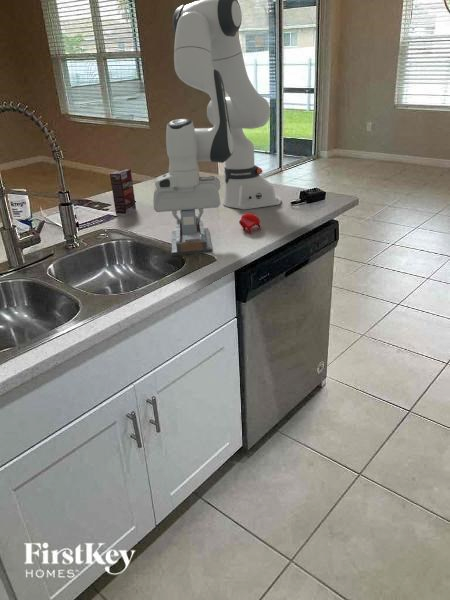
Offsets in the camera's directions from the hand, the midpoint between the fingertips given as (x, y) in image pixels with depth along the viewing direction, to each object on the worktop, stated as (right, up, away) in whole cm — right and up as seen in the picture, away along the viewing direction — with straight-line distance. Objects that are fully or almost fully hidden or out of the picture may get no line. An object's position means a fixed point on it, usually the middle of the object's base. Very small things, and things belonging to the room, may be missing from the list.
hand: (188, 223), depth 146 cm
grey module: (0, -2, +1) cm, 3 cm away
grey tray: (+1, -6, +3) cm, 6 cm away
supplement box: (-27, +10, +37) cm, 47 cm away
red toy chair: (+20, -1, +10) cm, 22 cm away
